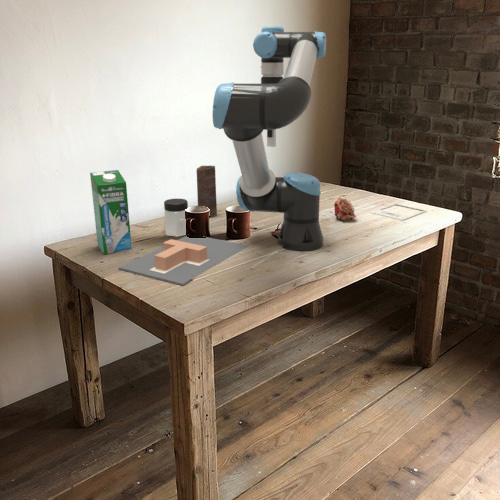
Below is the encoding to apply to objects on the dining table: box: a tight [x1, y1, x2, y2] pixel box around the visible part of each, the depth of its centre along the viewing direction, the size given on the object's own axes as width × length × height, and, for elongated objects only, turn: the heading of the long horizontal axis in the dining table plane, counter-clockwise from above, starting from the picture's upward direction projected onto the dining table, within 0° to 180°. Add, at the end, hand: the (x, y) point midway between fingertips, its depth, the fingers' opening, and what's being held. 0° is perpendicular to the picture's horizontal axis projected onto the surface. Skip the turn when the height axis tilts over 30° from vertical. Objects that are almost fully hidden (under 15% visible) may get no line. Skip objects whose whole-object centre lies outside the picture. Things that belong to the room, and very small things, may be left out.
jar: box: [163, 198, 189, 237], centre depth 190 cm, size 9×8×12 cm
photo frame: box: [369, 203, 428, 222], centre depth 217 cm, size 15×1×18 cm
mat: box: [118, 235, 250, 287], centre depth 170 cm, size 24×36×1 cm, turn 150°
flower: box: [333, 197, 357, 223], centre depth 207 cm, size 10×9×8 cm
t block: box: [154, 238, 207, 271], centre depth 165 cm, size 14×14×4 cm
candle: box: [196, 165, 218, 218], centre depth 209 cm, size 8×7×20 cm
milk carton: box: [89, 169, 132, 255], centre depth 175 cm, size 9×9×25 cm
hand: (271, 146), depth 191 cm, fingers closed
